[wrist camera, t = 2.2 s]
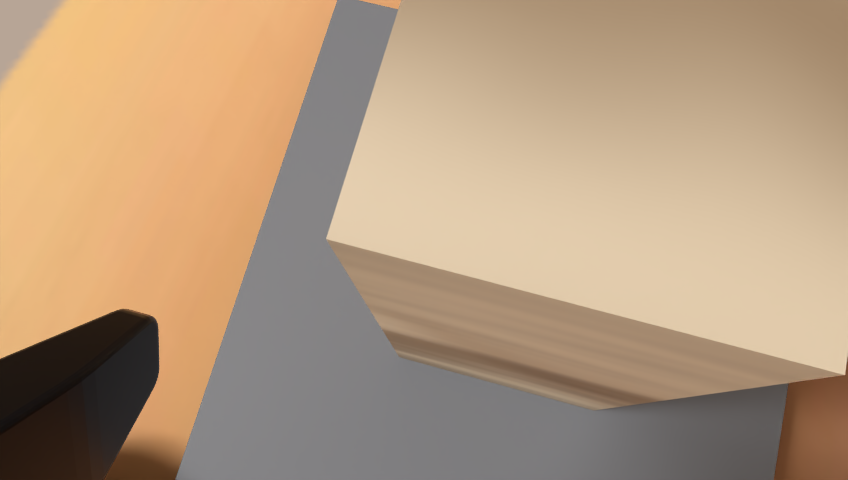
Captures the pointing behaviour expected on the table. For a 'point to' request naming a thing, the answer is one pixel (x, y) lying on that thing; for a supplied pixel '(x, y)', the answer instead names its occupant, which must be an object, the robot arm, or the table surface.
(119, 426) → the robot arm
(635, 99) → the birch block
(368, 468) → the slate tile
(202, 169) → the table surface
